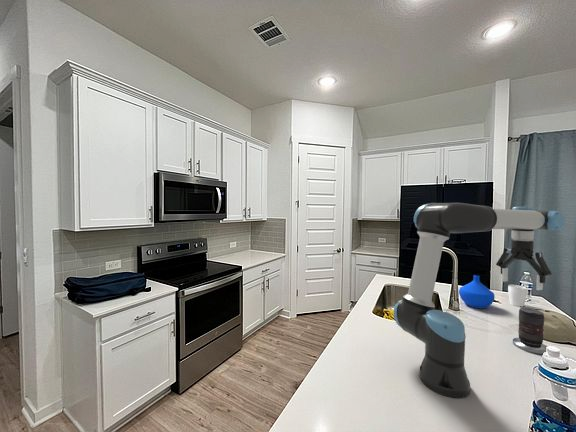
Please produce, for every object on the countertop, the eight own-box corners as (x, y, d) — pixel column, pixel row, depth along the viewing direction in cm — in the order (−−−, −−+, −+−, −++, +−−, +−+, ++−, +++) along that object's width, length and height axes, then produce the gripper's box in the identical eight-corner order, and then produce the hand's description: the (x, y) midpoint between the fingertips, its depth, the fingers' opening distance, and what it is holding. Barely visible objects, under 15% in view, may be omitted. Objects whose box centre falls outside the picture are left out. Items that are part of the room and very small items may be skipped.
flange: (539, 357, 103) (539, 353, 103) (506, 342, 114) (506, 339, 114) (557, 352, 106) (557, 349, 106) (523, 338, 118) (523, 335, 118)
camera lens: (548, 350, 105) (549, 315, 105) (526, 347, 107) (527, 313, 107) (534, 340, 113) (534, 308, 113) (513, 338, 115) (514, 306, 115)
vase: (462, 298, 172) (463, 271, 172) (496, 306, 159) (497, 276, 158) (455, 305, 160) (455, 275, 159) (491, 313, 146) (492, 281, 146)
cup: (530, 307, 156) (531, 288, 156) (516, 307, 156) (516, 288, 156) (517, 302, 165) (518, 284, 165) (504, 302, 165) (504, 284, 165)
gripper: (563, 243, 104) (562, 293, 104) (498, 236, 128) (497, 277, 128) (551, 243, 102) (550, 294, 102) (487, 237, 126) (487, 278, 126)
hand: (521, 285), depth 115 cm, fingers open, 13 cm apart
